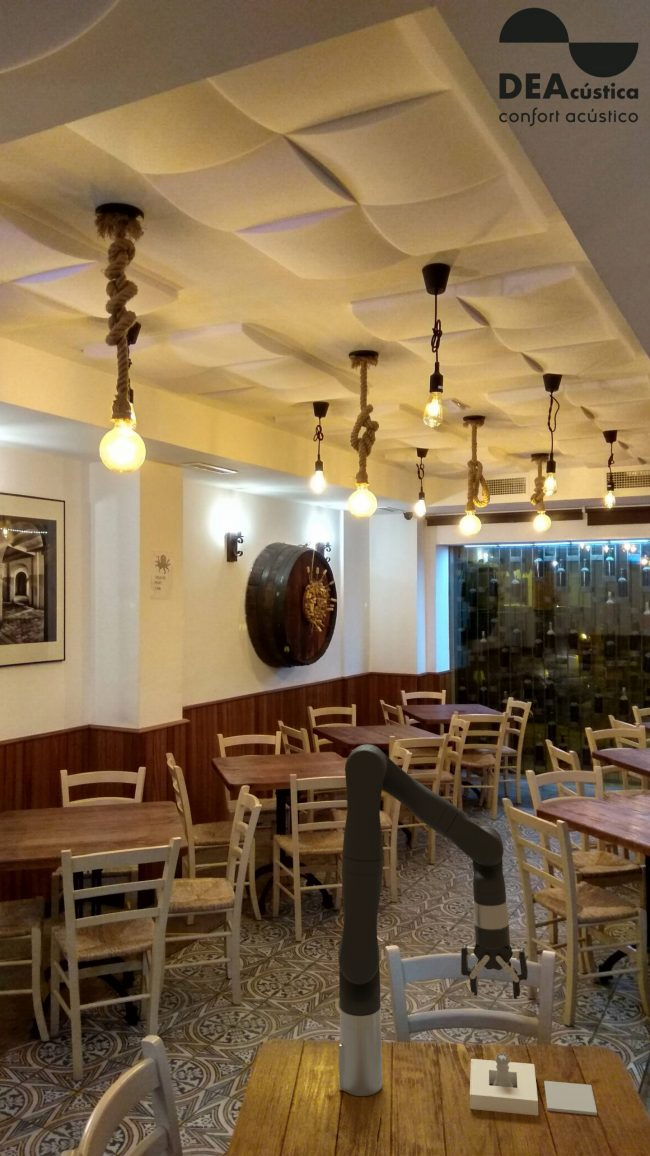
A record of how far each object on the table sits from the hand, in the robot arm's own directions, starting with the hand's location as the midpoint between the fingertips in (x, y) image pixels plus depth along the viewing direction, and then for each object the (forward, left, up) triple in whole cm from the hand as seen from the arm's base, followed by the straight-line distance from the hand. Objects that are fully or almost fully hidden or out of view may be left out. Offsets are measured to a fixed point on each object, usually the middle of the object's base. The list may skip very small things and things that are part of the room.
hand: (495, 995), depth 180 cm
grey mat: (+15, 0, -21) cm, 26 cm away
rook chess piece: (+1, 0, -21) cm, 21 cm away
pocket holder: (+1, 0, -21) cm, 21 cm away
